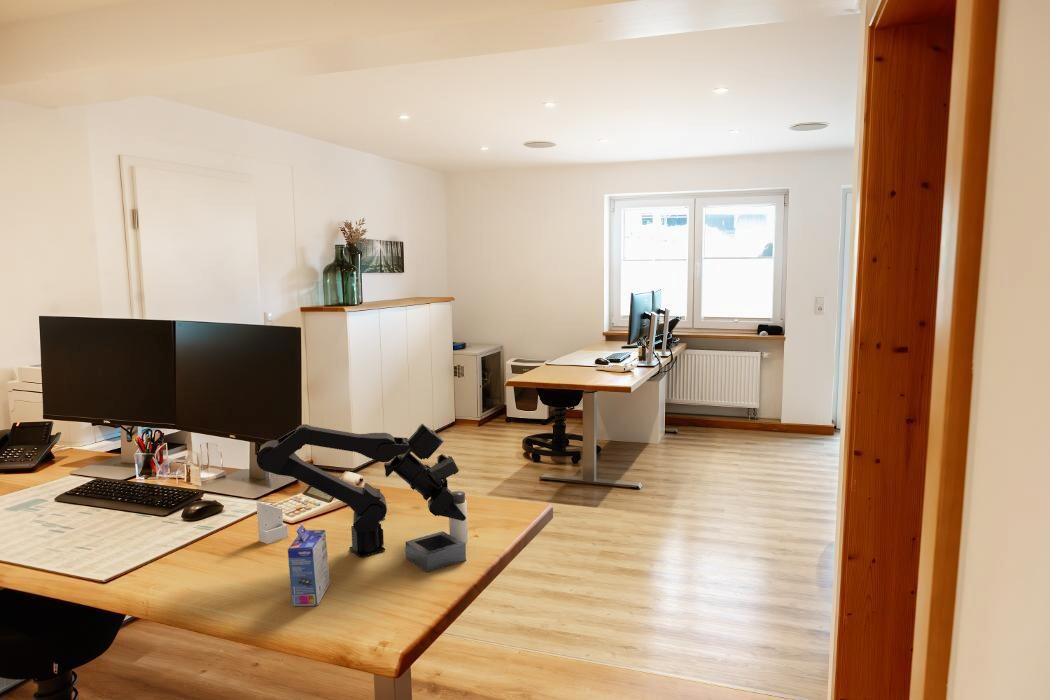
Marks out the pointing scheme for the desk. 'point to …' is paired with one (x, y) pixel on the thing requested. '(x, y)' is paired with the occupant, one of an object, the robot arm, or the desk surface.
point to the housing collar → (435, 551)
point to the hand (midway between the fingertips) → (461, 512)
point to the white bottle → (457, 526)
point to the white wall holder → (270, 523)
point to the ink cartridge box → (308, 567)
